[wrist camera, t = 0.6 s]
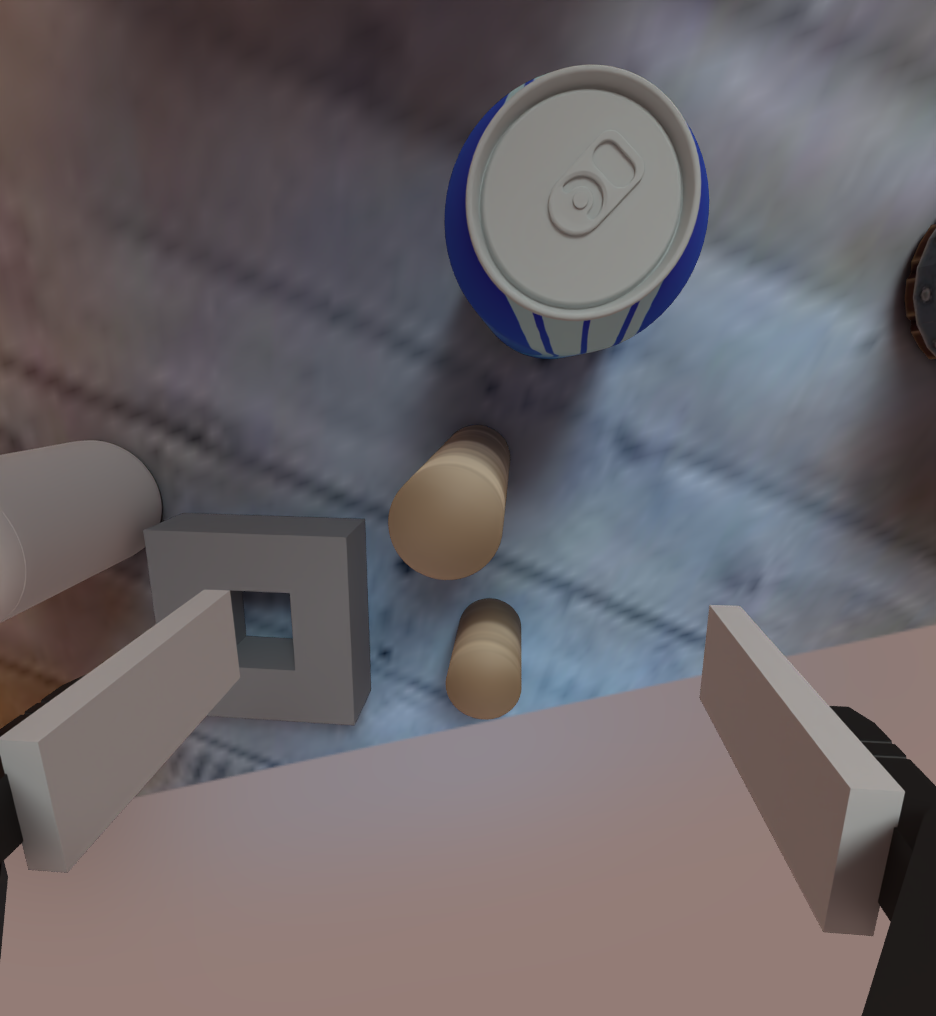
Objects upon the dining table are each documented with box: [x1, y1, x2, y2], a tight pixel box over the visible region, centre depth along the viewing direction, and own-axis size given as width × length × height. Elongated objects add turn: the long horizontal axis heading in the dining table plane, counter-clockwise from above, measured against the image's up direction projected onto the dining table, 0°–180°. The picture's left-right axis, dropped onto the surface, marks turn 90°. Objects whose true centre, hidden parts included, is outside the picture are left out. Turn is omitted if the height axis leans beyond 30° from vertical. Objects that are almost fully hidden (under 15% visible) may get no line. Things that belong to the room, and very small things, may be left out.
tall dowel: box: [388, 425, 510, 580], centre depth 27 cm, size 4×4×15 cm
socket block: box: [143, 513, 371, 725], centre depth 36 cm, size 12×12×4 cm
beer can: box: [445, 65, 709, 359], centre depth 24 cm, size 8×8×16 cm
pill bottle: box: [0, 440, 162, 623], centre depth 30 cm, size 8×8×15 cm
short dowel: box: [446, 598, 521, 719], centre depth 33 cm, size 4×4×7 cm
